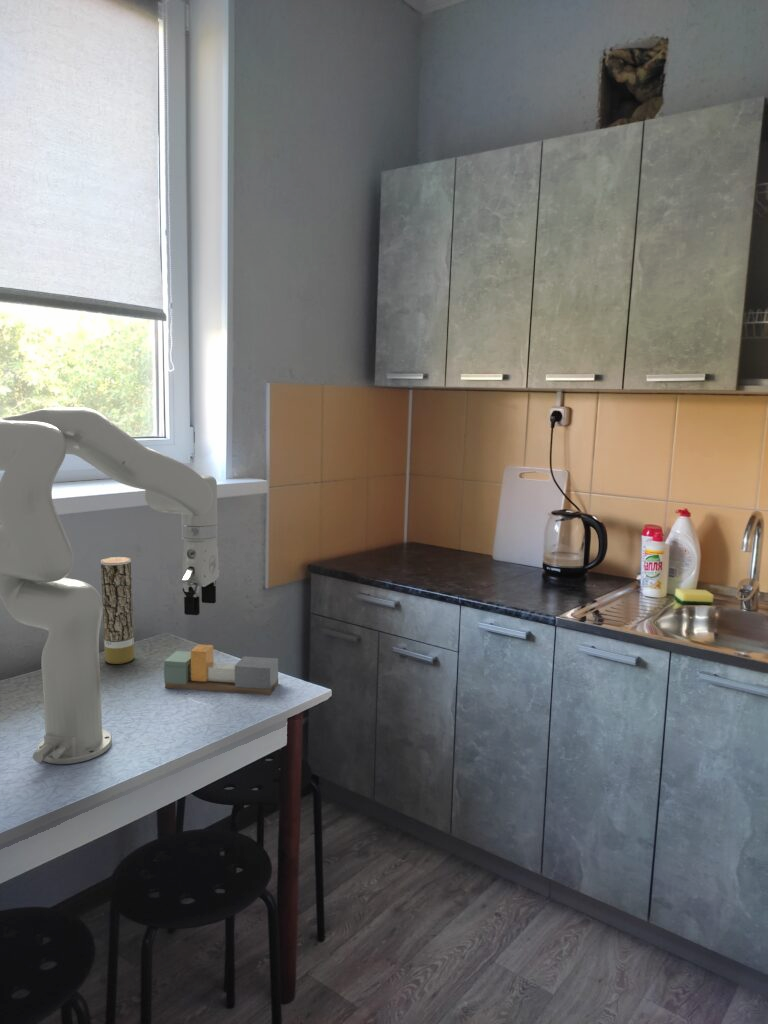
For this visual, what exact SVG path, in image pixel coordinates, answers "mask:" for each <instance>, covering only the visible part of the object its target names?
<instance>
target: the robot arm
mask: <svg viewBox="0 0 768 1024" xmlns="http://www.w3.org/2000/svg"><path fill="white" fill-rule="evenodd" d="M66 455H73V456H77V457H78V458H80V459H82V460H83V461H85V462H86V463H88V464H90V465H91V466H92V467H94V468H96V469H97V470H98V471H100V472H101V473H103V474H104V475H106V476H107V477H109V479H112V480H113V481H115V482H117V483H120V484H122V485H125V486H127V487H131V488H136V489H139V490H144V499H145V501H146V503H147V505H148V507H150V509H152V510H154V511H156V512H159V513H166V514H176V515H181V540H182V541H184V543H183V553H182V579H181V586H182V592H183V595H182V596H183V601H184V602H183V604H184V608H183V609H184V610H183V611H184V614H185V615H186V616H188V615H189V616H199V615H200V612H201V611H200V596H198V595H199V591H200V588H201V603H203V604H215V603H217V586H216V585H217V579H218V578H219V577H220V563H219V562H220V560H219V547H218V483H217V479H216V477H214V476H213V475H212V476H211V475H206V474H205V475H204V474H199V473H198V472H196V471H195V470H194V469H192V468H191V467H189V466H188V465H186V464H184V463H182V462H181V461H178V460H177V459H173V457H169V456H167V455H165V454H163V453H161V452H158V451H157V450H154V449H152V448H150V447H148V446H146V445H144V444H142V443H141V442H139V441H137V439H135V438H134V437H132V436H131V435H129V434H128V433H127V432H125V431H124V430H123V429H122V428H120V427H119V426H118V425H117V424H116V423H114V422H113V421H111V420H110V419H108V418H107V417H106V416H104V415H103V414H102V413H100V412H99V411H96V410H95V409H92V408H88V407H77V406H76V407H71V406H70V407H69V406H68V407H67V406H54V407H53V406H52V407H47V408H45V407H44V408H42V409H37V410H32V411H28V412H24V413H18V414H15V415H14V414H13V415H10V416H5V417H0V471H2V472H3V471H4V472H3V475H2V476H1V479H0V599H1V601H2V603H3V604H4V607H5V608H6V610H7V611H8V613H9V615H10V616H11V617H12V618H13V619H14V620H15V621H17V622H19V623H21V624H23V625H25V626H30V627H34V628H40V629H42V630H46V631H47V632H48V636H47V639H46V642H45V644H44V647H43V649H42V653H41V659H40V661H41V663H40V664H41V673H42V675H41V677H42V694H43V695H42V696H43V709H44V712H43V713H44V727H45V728H44V729H45V734H44V735H43V740H41V741H40V742H39V743H38V744H37V747H36V751H34V752H33V754H32V759H33V760H34V761H35V762H36V763H42V762H45V763H48V764H55V765H70V764H78V763H83V762H85V761H89V760H91V759H94V758H97V757H99V756H101V755H103V754H104V753H106V752H107V751H108V749H110V747H111V746H112V742H113V739H112V734H111V733H110V732H108V731H107V730H105V729H103V716H102V714H103V713H102V695H101V694H102V693H101V691H102V688H101V672H100V671H101V670H100V650H99V649H100V647H99V646H100V645H99V644H100V642H99V641H100V640H99V639H100V630H101V623H102V619H103V602H102V595H101V594H100V592H99V591H98V590H97V588H95V587H94V586H93V585H91V584H90V583H88V582H86V581H83V580H79V579H74V578H70V577H67V576H68V575H69V574H70V573H71V572H72V569H73V567H74V565H75V556H74V551H73V548H72V546H71V543H70V539H69V538H68V536H67V533H66V531H65V529H64V526H63V523H62V522H61V518H60V516H59V514H58V513H57V510H56V507H55V503H54V500H53V497H52V494H53V493H52V491H53V485H54V482H55V479H56V476H57V474H58V473H59V470H60V468H61V466H62V465H63V463H64V460H65V458H66Z"/></svg>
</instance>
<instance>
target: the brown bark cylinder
mask: <svg viewBox="0 0 768 1024" xmlns="http://www.w3.org/2000/svg"><path fill="white" fill-rule="evenodd" d="M100 575H101V577H100V579H101V598H102V602H103V612H102V620H103V624H102V625H103V626H102V627H103V646H104V647H103V648H104V659H105V660H104V661H105V662H106V663H108V664H112V665H121V664H126V663H130V662H131V661H133V660H134V658H135V634H134V609H133V608H134V607H133V606H134V605H133V603H134V602H133V581H132V580H133V579H132V578H133V577H132V576H133V575H132V559H131V558H130V557H124V556H116V557H107V558H103V559H101V560H100Z"/></svg>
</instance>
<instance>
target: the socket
mask: <svg viewBox="0 0 768 1024" xmlns="http://www.w3.org/2000/svg"><path fill="white" fill-rule="evenodd" d="M163 661H164V666H163V672H164V673H163V675H164V684H165V683H174V684H187V683H188V665H190V664H191V651H181V650H176V651H174V652H173V653H172V654H171V655H170V656H168V657H167V658H166V659H165V660H163Z"/></svg>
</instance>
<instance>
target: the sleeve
mask: <svg viewBox="0 0 768 1024" xmlns="http://www.w3.org/2000/svg"><path fill="white" fill-rule="evenodd" d="M235 664H236V665H235V687H242V688H256V689H271V688H272V687H273V685H274V684H275V683H276V681H277V680H278V681H279V658H273V657H262V656H259V657H257V656H245V655H244V656H242V658H240V660H238V662H237V663H235Z"/></svg>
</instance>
